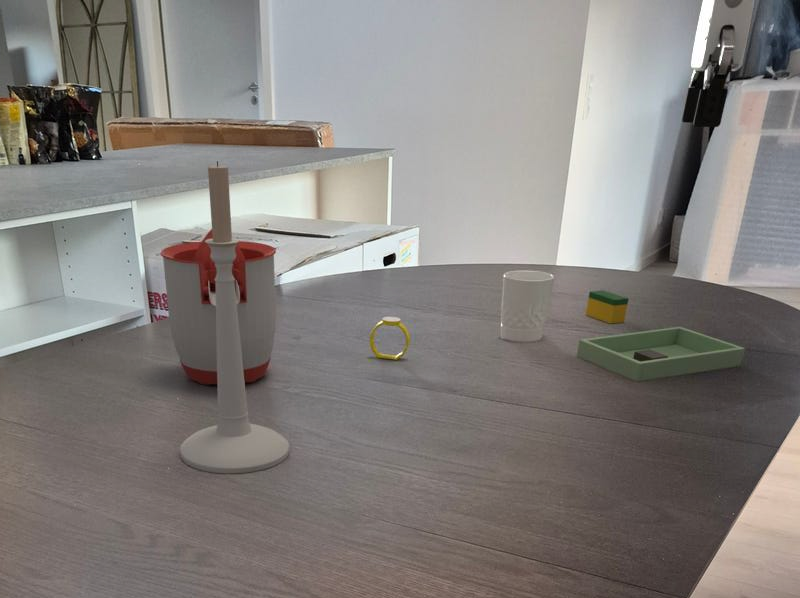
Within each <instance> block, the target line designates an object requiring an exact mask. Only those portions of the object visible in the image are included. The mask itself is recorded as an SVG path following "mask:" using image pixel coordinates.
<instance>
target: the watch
mask: <svg viewBox="0 0 800 598" xmlns="http://www.w3.org/2000/svg"><path fill="white" fill-rule="evenodd" d="M401 321H402V320H401V318H400V317H396V316H384V317H382V319H381V321H379V322H378V323H377V324H376V325H375V327H374V328H373V329H372V330H371V332H370V335H369V336H370V337H369V347H370V349H371V352H372V353H373V355H375V356H376V357H377V358H378V359H386V360H393V361H397V360H399V359H400V358H402V357H403V356H404V355H405V354H406V352H407V350H408V348H409V347H410V339H411V338H410V333H409V331H408V328H407V327H406V325H404V324H403V322H401ZM382 326H389V327H398V328H399V329H400V330H401V331H402V333H403V335H404V337H405V347H404V348H403V350H402V351H401V352H400V353H398V354H397V355H395V354H394V355H393V354H386V353H381V352H380V351H379V349H378V348H376V345H375V342H374V337H375V333H376V331H377V329H378V328H380V327H382Z"/></svg>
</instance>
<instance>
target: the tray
mask: <svg viewBox="0 0 800 598" xmlns="http://www.w3.org/2000/svg"><path fill="white" fill-rule="evenodd" d="M577 346H578V347H577V353H576V357H577V358H579V359H582V360H584V361H586V362H588V363H591V364H593V365H595V366H598V367H601V368H603V369H605V370H608V371H610V372H612V373H614V374H616V375H619V376H621V377H624V378H625V379H629V380H632V381H634V382H636V383H638V382H644V381H651V380H657V379H664V378H670V377H676V376H682V375H689V374H696V373H697V374H698V373H702V372H709V371H715V370H721V369H729V368H734V367H735V368H736V367H741V366H742V362H743V360H744V356H745V352H746V347H743V346H741V345H737V344H734V343H730V342H728V341H725V340H721V339H719V338H715V337H714V336H713V337H712V336H710V335H707V334H703V333H701V332H697V331H695V330H691V329H689V328H685V327H683V326H674V327H666V328H660V329H651V330H643V331H636V332H629V333H622V334H621V333H620V334H613V335H605V336H597V337H589V338H583V339H579V341H578V345H577ZM643 350H653V351H655V352H658V353H661V354H664V355H666V356H668V358H662V359H655V360H648V361H642V362H640V361H637V360H635V359H633V357H634V353H635V352H636V351H643Z"/></svg>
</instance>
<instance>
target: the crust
mask: <svg viewBox="0 0 800 598" xmlns="http://www.w3.org/2000/svg"><path fill="white" fill-rule="evenodd" d="M662 358H668V356H666V355H664V354H661V353H658V352H655V351H653V350H643V351H636V352H635V353H634V357H633V359H635V360H637V361H640V362H642V361H648V360H655V359H662Z"/></svg>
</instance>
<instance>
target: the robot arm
mask: <svg viewBox="0 0 800 598" xmlns="http://www.w3.org/2000/svg"><path fill="white" fill-rule="evenodd" d="M701 3H702V4H701V8H700V12H699V18H698V23H697V26H696V27H697V28H696V32H695V36H694V37H695V38H694V42H693V50H692V53H691V61H690V66H691V67H690V68H691V69H693V71H692V74H691V77H690V80H689V87H687V92H686V96H685V102H684V106H683V110H682V111H683V112H682V114H681V115H682V116H681V122H682V123H692V125H693V127H695V128H718V127H720V125H721V124H722V119H723V115H724V111H725V110H724V109H725V105H726V100H727V96H728V92H729V89H728V88H729V86H730V80H731V72H736V71H738V70H739V69H741V67H742V66H743V63H744V59H745V54H746V48H747V43H748V38H749V34H750V29H751V23H752V18H753V13H754V8H755V3H756V0H702V2H701Z"/></svg>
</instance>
